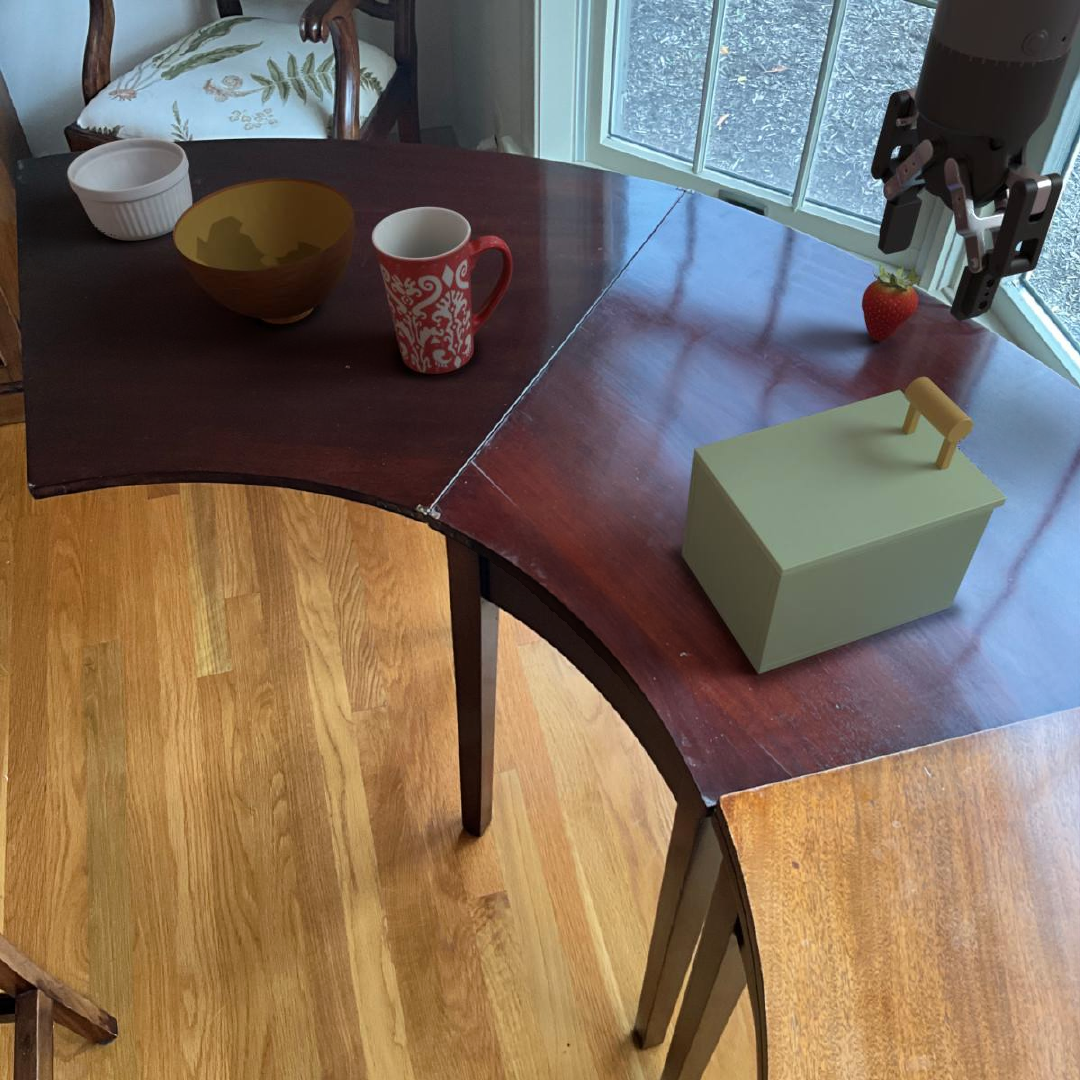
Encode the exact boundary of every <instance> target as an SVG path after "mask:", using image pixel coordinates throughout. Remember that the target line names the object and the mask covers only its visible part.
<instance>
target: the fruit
mask: <svg viewBox="0 0 1080 1080" xmlns="http://www.w3.org/2000/svg"><path fill="white" fill-rule="evenodd" d="M872 272H873V276H874V277H875V278H876V280H874V281H872V282H871V283H869V285H867V287H866V289H865V290H864V292H863V295H862V299H861V308H862V309H861V310H862V312H863V319H864V324H865V328H866V331H867V333H868V336H869V338H871V339H872V340H874V341H877V342H882V341H885V340H887V339H888V338H890V337H891V336H892V335H893V334H894V333H896V332H897V331H898V330H899V328H900V327H901V326H902V325H903V324H904V323H905V322H906V321H908V320H909V319H910V318H911V317H912V316H913V315H914V314H915V312H916V311H917V308H918V305H919V297H918V294H917V292H916V290H915V289H914V288H913V286H915V285H916V284H917V283H919V282H920V281H921V279H922V275H917V276H916V270H915V267H914V268H912V269H911V271H910V273H909V274H908V275H907V276H905V277H904V266H901V267H899V268H898V270H897V272H896V275H895V274H894V272H891V273H890V272H889V271H887V270H886V269H885V268H883V266H882V264H879V266H878V274H877V273H876V272H875V271H874V269H872ZM915 276H916V277H915ZM903 277H904V278H903Z"/></svg>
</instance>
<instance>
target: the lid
mask: <svg viewBox="0 0 1080 1080" xmlns="http://www.w3.org/2000/svg"><path fill="white" fill-rule="evenodd" d="M973 428H974V421H973V419H972V418H970V416H969V415H967V414H966V413H965V412H964V411H963V410H962V409H961V408H960V407H959V406H958V405H957V404H956V403H955V402H954V401H953V400H952V399H951V398H950V397H949V396H948V395H946V394H945V392H943V391H942V390H941V389H940V388H939V387H938V386H937V385H936V384H935V383H934V381H932V380H931V379H930V378H929V377H927V376H920V377H918V378H915V379H914V380H912V381H911V382H910V383H909V384H908V385H907V386H906V388H905V390H904V393H903V392H902V391H901V390H900V389H898V390H894V391H890V392H886V393H883V394H880V395H875V396H872V397H868V398H865V399H861V400H859V401H855V402H851V403H848V404H845V405H842V406H838V407H835V408H830V409H827V410H824V411H820V412H816V413H813V414H809V415H805V416H802V417H798V418H795V419H792V420H788V421H785V422H782V423H781V422H780V423H778V424H773V425H770V426H767V427H764V428H759V429H757V430H753V431H750V432H746V433H743V434H739V435H735V436H732V437H728V438H724V439H722V440H718V441H715V442H711V443H708V444H704V445H701V446H697V447H694V449H693V457H695V459H696V460H697V462H698V463H699V464H700V466H701V467H702V468H703V470H704V471H705V473H706V474H707V475H708V477H709V478H710V480H711V481H712V482H713V484H714V485H715V487H716V488H717V489H718V491H719V492H720V494H721V495H722V496H723V498H724V499H725V500H726V502H727V503H728V505H729V506H730V507H731V509H732V510H733V512H734V513H735V514H736V516H737V517H738V519H739V520H740V521H741V523H742V524H743V526H744V527H745V528H746V530H747V531H748V532H749V534H750V535H751V537H752V538H753V539H754V541H755V542H756V544H757V545H758V546H759V548H760V549H761V551H762V552H763V553H764V555H765V556H766V557H767V559H768V560H769V562H770V563H771V564H772V566H773V567H774V569H775V570H776V571H777V573H778V574H779V576H780V577H784V576H787V575H790V574H793V573H796V572H799V571H802V570H805V569H808V568H811V567H815V566H818V565H821V564H824V563H827V562H830V561H833V560H836V559H839V558H842V557H845V556H849V555H852V554H855V553H858V552H861V551H864V550H867V549H870V548H873V547H876V546H879V545H883V544H886V543H889V542H892V541H895V540H898V539H901V538H904V537H907V536H910V535H913V534H917V533H920V532H923V531H926V530H929V529H932V528H935V527H938V526H941V525H944V524H947V523H951V522H954V521H957V520H960V519H963V518H966V517H969V516H972V515H975V514H978V513H981V512H985V511H988V510H991V509H994V510H995V509H997V508H1000V507H1003V506H1004V505H1005V504H1006V501H1007V499H1008V497H1007V495H1006V494H1004V493H1003V492H1002V491H1001V490H1000V489H999V488H998V486H996V485H995V484H994V483H993V482H992V481H991V480H990V479H989V478H988V477H987V476H986V474H984V473H983V472H982V471H981V469H979V468H978V467H977V466H976V465H975V464H974V463H973V461H971V460H970V459H969V458H968V457H967V456H966V455H965V454H964V453H963V452H962V451H961V450H960V449H959V448H958V443H959V442H960V441H962V440H964V439H965V438H967V436H969V434H970V433H971V432H972V430H973Z"/></svg>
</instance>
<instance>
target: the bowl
mask: <svg viewBox="0 0 1080 1080" xmlns="http://www.w3.org/2000/svg"><path fill="white" fill-rule="evenodd" d="M355 223H356V221H355V214H354V209H353V206H352V203H351V202H350V200H349V199H348V197H347V196H346V195H345V194H344V193H343V192H341V191H340V190H338V189H336V188H334V187H333V186H331V185H328V184H326V183H322V182H319V181H316V180H312V179H307V178H306V179H305V178H295V177H273V178H261V179H256V180H249V181H245V182H241V183H237V184H233V185H229V186H227V187H223V188H222V189H219V190H217V191H213V192H212V193H210V194H207V195H206V196H204V197H202V198H200V199H198V200H197V201H196V202H194V203H192V206H190V207H189V208H188V209H187V210H186V211H185V212H184V213H183V214H182V215H181V216H180V218H179V219H178V220H177V222H176V224H175V227H174V230H173V231H172V240H173V244H174V247H175V250H176V252H177V254H178V257H179V259H180V260H181V263H182V264H183V266H184V267H185V269H186V270H187V272H188V273H189V275H190V277H191V278H192V279H193V280H194V281H195V282H196V284H198V286H200V287H201V289H202V290H203V291H204V292H206V294H208V295H209V296H210V297H211V298H213V299H214V300H215V301H216V302H217V303H219V304H221V305H222V306H224V307H225V308H227V309H229V310H230V311H233V312H235V313H237V314H239V315H242V316H247V317H250V318H254V319H260V320H262V321H264V322H266V323H269V324H275V325H284V324H290V323H291V324H292V323H295V322H298V321H300V320H302V319H304V318H305V317H307V316H308V315H310V314H311V313H312V311H313V310H314V308H316V307H318V306H319V305H321V304H322V303H323V302H324V301H326V300H328V298H329V297H330V296H332V295H333V293H334V292H335V291H336V289H337V288H338V286H339V285H340V283H341V282H342V280H343V278H344V276H345V274H346V272H347V269H348V266H349V264H350V260H351V258H352V254H353V250H354V245H355V237H356V224H355Z"/></svg>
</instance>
